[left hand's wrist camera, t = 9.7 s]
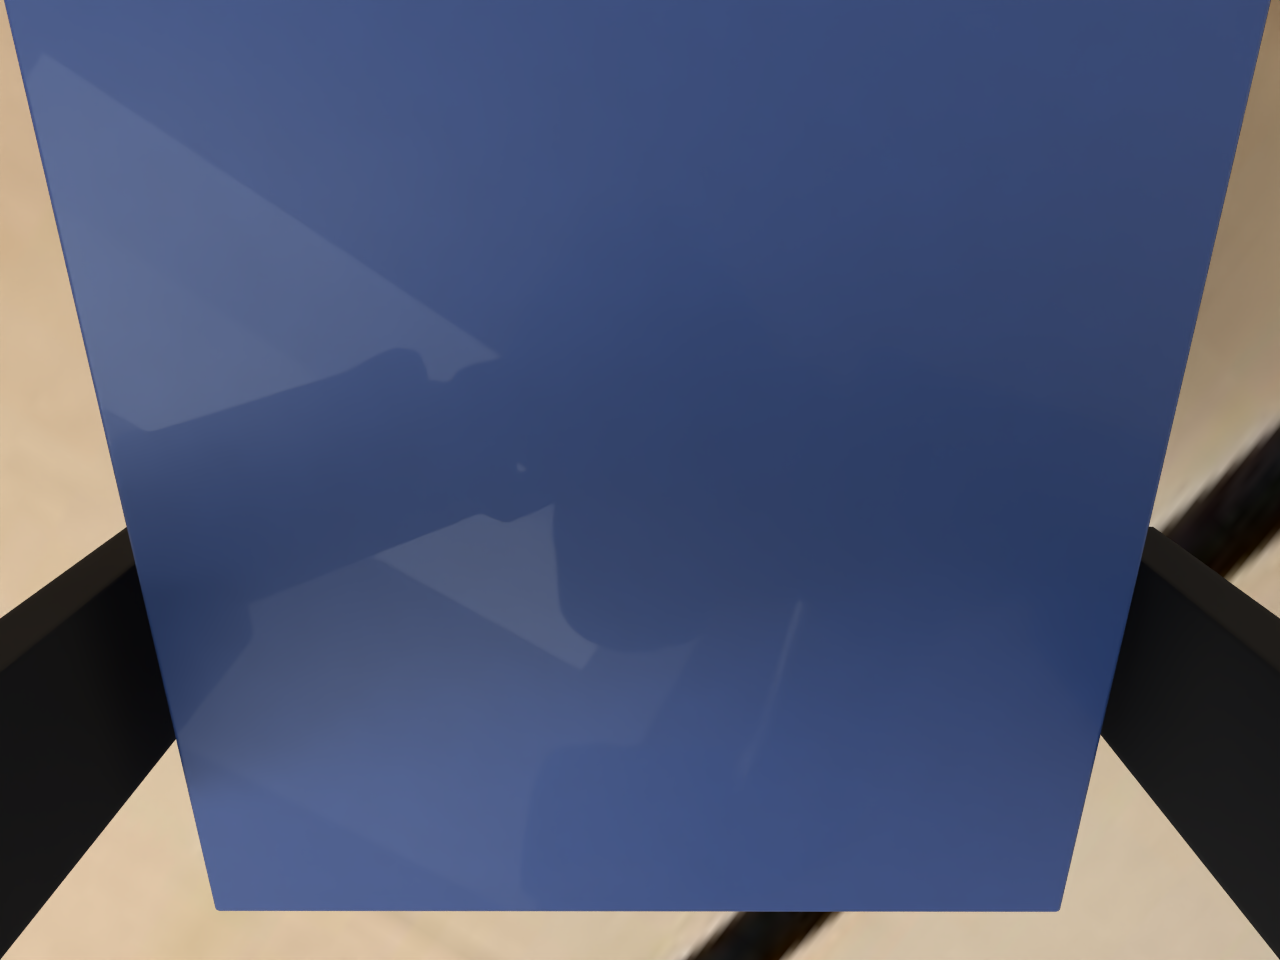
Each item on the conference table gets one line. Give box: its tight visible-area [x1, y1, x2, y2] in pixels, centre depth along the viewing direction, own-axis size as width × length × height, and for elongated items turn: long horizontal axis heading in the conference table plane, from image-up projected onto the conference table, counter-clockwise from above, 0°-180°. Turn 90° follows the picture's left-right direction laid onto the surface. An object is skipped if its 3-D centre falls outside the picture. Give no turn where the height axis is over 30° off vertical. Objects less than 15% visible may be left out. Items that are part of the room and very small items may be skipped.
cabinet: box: [4, 0, 1271, 912], centre depth 14 cm, size 17×11×12 cm
